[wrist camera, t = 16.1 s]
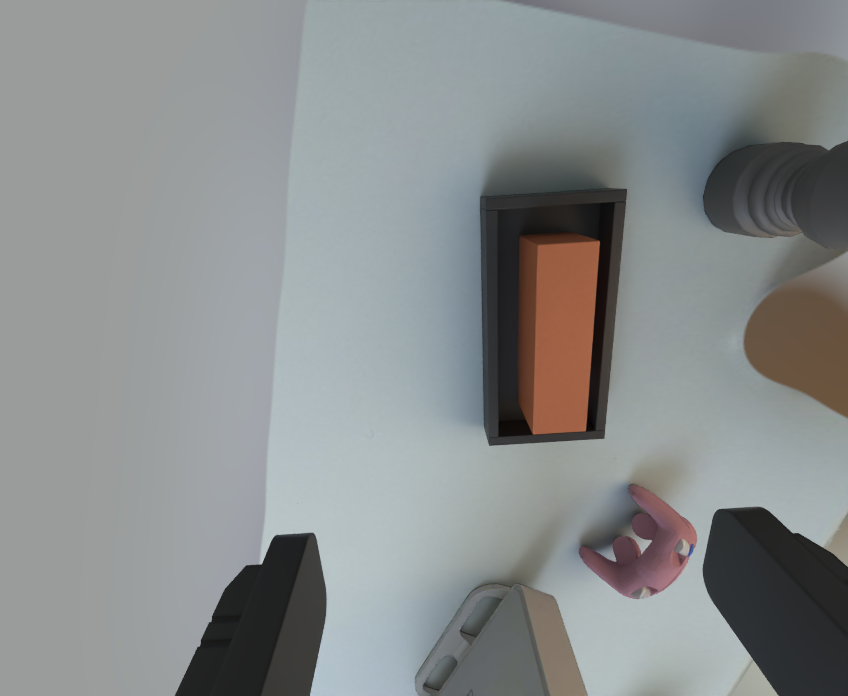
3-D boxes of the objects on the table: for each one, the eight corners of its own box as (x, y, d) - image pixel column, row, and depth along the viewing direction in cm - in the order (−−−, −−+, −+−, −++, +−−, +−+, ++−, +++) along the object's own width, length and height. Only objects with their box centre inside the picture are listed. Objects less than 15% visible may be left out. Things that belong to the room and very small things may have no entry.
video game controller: (596, 551, 47) (649, 614, 42) (570, 552, 45) (623, 620, 39) (654, 481, 44) (718, 540, 39) (630, 479, 42) (695, 541, 36)
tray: (479, 196, 33) (485, 198, 30) (609, 188, 33) (627, 188, 30) (483, 426, 40) (489, 445, 37) (590, 420, 40) (604, 438, 37)
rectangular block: (519, 235, 34) (537, 244, 29) (572, 231, 34) (600, 240, 29) (517, 400, 39) (532, 434, 33) (563, 398, 39) (586, 431, 33)
